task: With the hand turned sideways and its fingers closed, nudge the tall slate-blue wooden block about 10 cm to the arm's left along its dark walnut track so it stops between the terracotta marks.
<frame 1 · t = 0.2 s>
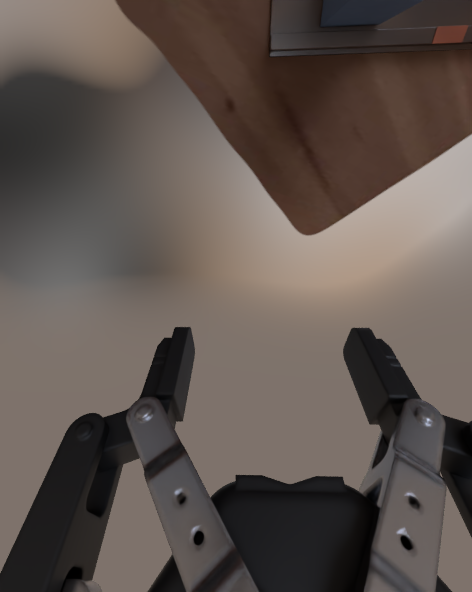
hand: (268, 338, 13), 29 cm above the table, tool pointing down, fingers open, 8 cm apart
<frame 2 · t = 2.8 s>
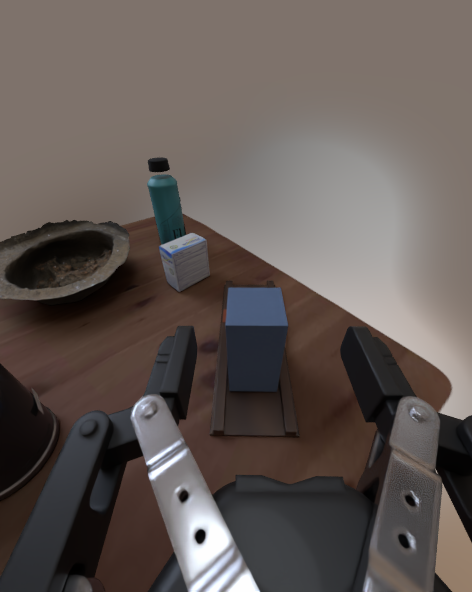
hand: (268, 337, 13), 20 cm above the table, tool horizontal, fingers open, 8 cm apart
medicine box: (189, 280, 51), on the table
track: (251, 339, 38), on the table
beverage bottle: (175, 248, 62), on the table
stone bowl: (78, 283, 51), on the table
block: (253, 342, 30), point 7 cm above the table, slide at 0.0 cm
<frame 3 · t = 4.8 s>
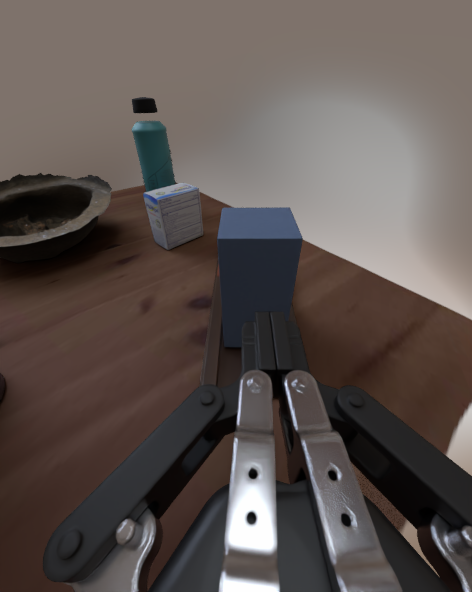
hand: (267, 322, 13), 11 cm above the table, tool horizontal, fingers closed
medicine box: (180, 240, 45), on the table
track: (251, 295, 32), on the table
beverage bottle: (165, 211, 56), on the table
stone bowl: (52, 243, 45), on the table
block: (254, 282, 23), point 7 cm above the table, slide at 0.0 cm
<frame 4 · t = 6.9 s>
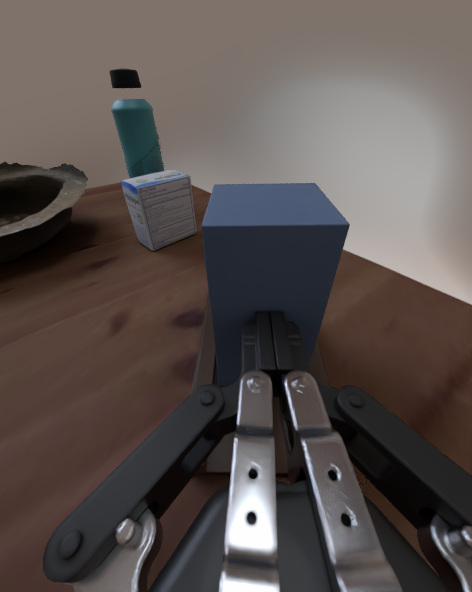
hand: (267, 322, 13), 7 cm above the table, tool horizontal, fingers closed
medicine box: (168, 239, 38), on the table
track: (255, 308, 25), on the table
beverage bottle: (154, 207, 49), on the table
stone bowl: (17, 243, 37), on the table
block: (262, 294, 16), point 7 cm above the table, slide at 0.1 cm, touching gripper
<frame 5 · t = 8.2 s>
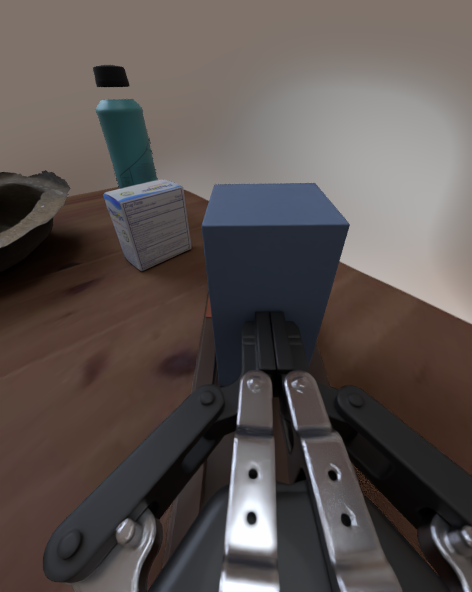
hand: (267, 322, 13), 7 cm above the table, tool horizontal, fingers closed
medicine box: (160, 256, 34), on the table
track: (258, 349, 21), on the table
beverage bottle: (147, 217, 45), on the table
block: (262, 294, 16), point 7 cm above the table, slide at 5.2 cm, touching gripper
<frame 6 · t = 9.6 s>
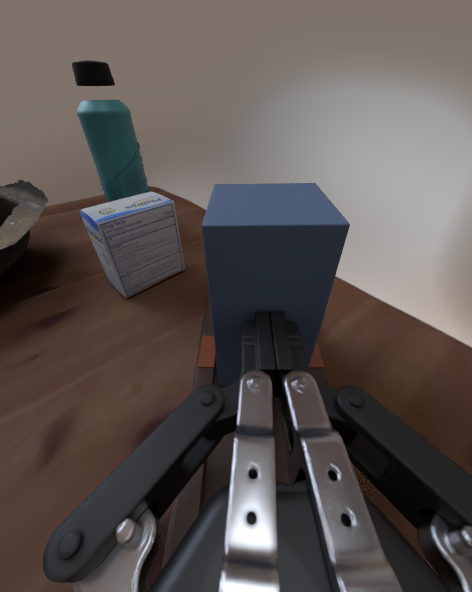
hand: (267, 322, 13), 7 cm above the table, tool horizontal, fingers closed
medicine box: (149, 278, 30), on the table
track: (262, 410, 17), on the table
beverage bottle: (138, 229, 41), on the table
block: (262, 294, 16), point 7 cm above the table, slide at 10.4 cm, touching gripper
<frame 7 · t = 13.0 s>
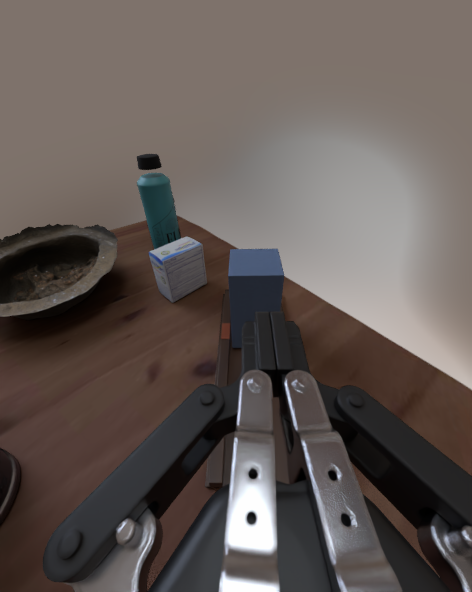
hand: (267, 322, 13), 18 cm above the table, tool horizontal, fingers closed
medicine box: (184, 289, 46), on the table
track: (254, 359, 33), on the table
beverage bottle: (169, 253, 57), on the table
stone bowl: (61, 294, 46), on the table
block: (254, 300, 32), point 7 cm above the table, slide at 10.5 cm
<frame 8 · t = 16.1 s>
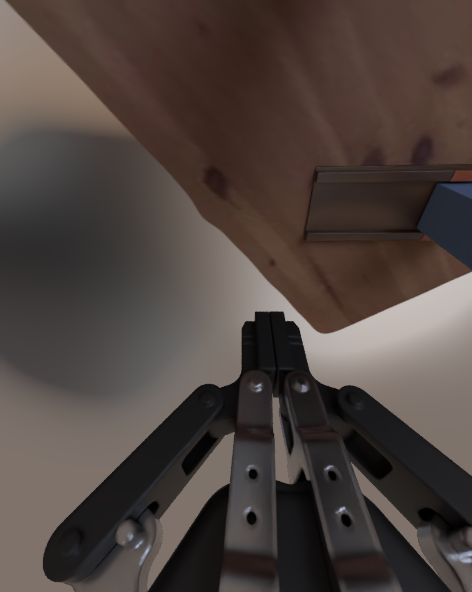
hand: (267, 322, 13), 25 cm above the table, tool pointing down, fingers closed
track: (412, 205, 34), on the table
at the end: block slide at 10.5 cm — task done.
